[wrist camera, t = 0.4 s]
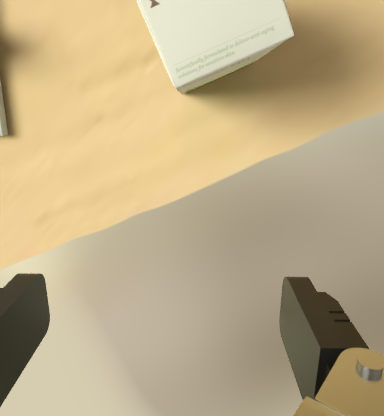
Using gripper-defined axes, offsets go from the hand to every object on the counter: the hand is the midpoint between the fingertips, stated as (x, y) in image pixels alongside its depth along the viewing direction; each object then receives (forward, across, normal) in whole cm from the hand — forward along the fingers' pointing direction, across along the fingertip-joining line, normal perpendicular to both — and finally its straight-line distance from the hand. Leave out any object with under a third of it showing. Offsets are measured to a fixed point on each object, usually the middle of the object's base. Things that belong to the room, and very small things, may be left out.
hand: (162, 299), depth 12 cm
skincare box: (+29, -2, -11) cm, 31 cm away
